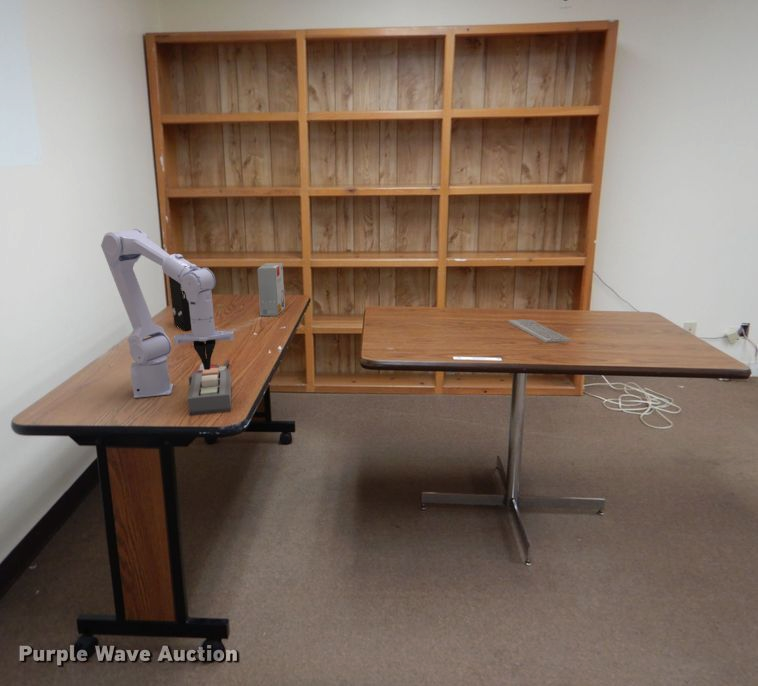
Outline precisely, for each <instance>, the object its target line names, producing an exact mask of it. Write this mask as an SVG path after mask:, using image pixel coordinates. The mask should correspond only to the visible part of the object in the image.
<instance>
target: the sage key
mask: <svg viewBox="0 0 758 686" xmlns="http://www.w3.org/2000/svg"><path fill="white" fill-rule="evenodd" d="M211 394H218V387H207V388H201V395H211Z"/></svg>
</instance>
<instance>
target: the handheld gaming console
mask: <svg viewBox="0 0 758 686" xmlns="http://www.w3.org/2000/svg"><path fill="white" fill-rule="evenodd" d="M168 281H169V287H170V288H169V290H170V297H171V298H170V299H171V307H172V308H171V309H172V310H171V311H172V317H173V323H174V324H173V325H174V326H175V327H177V326H178V327H179V328H178V327H177V328H178V329H180V328H181V329H180V330H182V329H183V330H182V331H191V330H192V329H191V319H190V310H189V301H188V300H187V299H186V293H185V292H184V290H183V288H182V286H181V284H180V283H179V282H177V281H176V280H174V279H173V278H171V277H170V276H168Z"/></svg>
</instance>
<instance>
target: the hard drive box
mask: <svg viewBox="0 0 758 686" xmlns="http://www.w3.org/2000/svg"><path fill="white" fill-rule="evenodd" d="M283 266H284V264H283V262H266V263H264V264H262V265H261V266H260V267H258V268H257V282H258V298H259V299H258V302H259V315H260V317H263V316H264V317H266V316H267V317H276V316H277V317H278V316H279V315H280V314H281V313H282V312H283V311H284V310H285V309H286V298H285V285H284V282H285V281H284V269H283V268H284V267H283Z"/></svg>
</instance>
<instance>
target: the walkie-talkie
mask: <svg viewBox="0 0 758 686" xmlns="http://www.w3.org/2000/svg"><path fill="white" fill-rule="evenodd" d="M229 364H230V359H229V360H228V359H227V360H226V361H225V362H224V364H223V366H222V365H221V366H220V365H219V364H217V363H215V364H214V363H212V362H211V361H210V368H218V371H223V370H228V368H227V367H228V366H229ZM203 369H204V366H203V363H201V364H199V365H197V366H196V367H195V369H194V370H193V371H192V373H191V374H190V375H189V377H188V384H189V386H190V385H191V380H192V375H193V373H201V372H203Z"/></svg>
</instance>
